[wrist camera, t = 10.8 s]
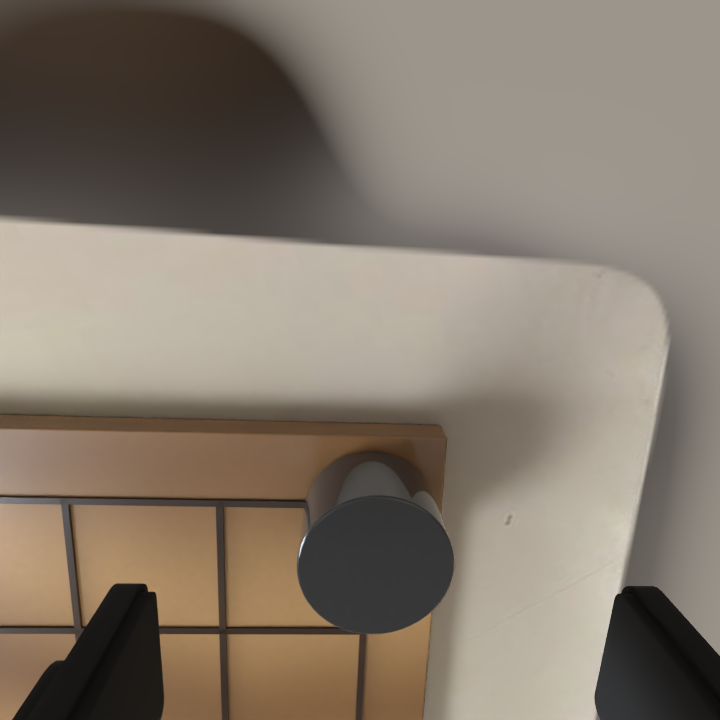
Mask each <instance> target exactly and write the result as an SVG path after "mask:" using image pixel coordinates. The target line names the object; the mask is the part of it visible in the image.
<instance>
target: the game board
mask: <svg viewBox="0 0 720 720" xmlns="http://www.w3.org/2000/svg"><path fill="white" fill-rule="evenodd" d="M446 446H447V437H446V435H445V433H444V432H443V430H442V428H441V426H439V425H412V424H370V423H328V422H286V421H244V420H202V419H160V418H117V417H75V416H33V415H0V720H12V719H13V717H14V716H15V714H16V713H17V711H18V710H19V708H20V707H21V705H22V704H23V703H24V701H25V700H26V698H27V697H28V695H29V694H30V692H31V691H32V689H33V688H34V686H35V685H36V683H37V682H38V680H39V679H40V677H41V676H42V674H43V673H44V671H45V670H46V669H47V668H48V667H49V665H51V664H52V663H53V662H55V661H59V660H65V659H66V657H67V656H68V654H69V652H70V651H71V649H72V648H73V646H74V645H75V643H76V642H77V640H78V638H79V637H80V635H81V634H82V632H83V631H84V629H85V627H86V626H87V624H88V623H89V621H90V620H91V618H92V616H93V615H94V613H95V612H96V610H97V609H98V607H99V605H100V604H101V602H102V601H103V599H104V598H105V596H106V595H107V593H108V591H109V590H110V588H111V587H112V586H113V585H114V584H116V583H140V584H146V585H147V587H148V592H155V593H156V596H157V608H158V621H159V634H160V647H161V660H162V673H163V686H164V708H163V713H162V717H161V720H423V714H424V702H425V690H426V679H427V667H428V655H429V644H430V632H431V621H432V612H431V613H429V614H428V615H427V616H426V617H424V618H423V619H422V620H420V621H419V622H417V623H415V624H413V625H411V626H409V627H407V628H404V629H402V630H398V631H395V632H391V633H385V634H360V633H354V632H350V631H347V630H344V629H341V628H339V627H337V626H334V625H333V624H331V623H329V622H328V621H326V620H325V619H323V618H322V617H321V616H319V615H318V614H317V613H316V612H315V611H314V610H313V609H312V607H311V606H310V605H309V603H308V602H307V600H306V598H305V597H304V595H303V593H302V591H301V588H300V585H299V582H298V577H297V556H298V548H299V541H300V534H301V526H302V519H303V512H304V504H305V500H306V496H307V493H308V491H309V488H310V486H311V485H312V483H313V481H314V480H315V479H316V477H317V476H318V475H319V474H320V473H321V472H322V471H323V470H324V469H325V468H326V467H327V466H329V465H330V464H331V463H333V462H335V461H336V460H338V459H340V458H343V457H345V456H347V455H351V454H354V453H360V452H371V451H373V452H383V453H388V454H391V455H394V456H397V457H400V458H402V459H404V460H406V461H407V462H409V463H410V464H412V465H413V466H414V467H415V468H416V469H417V470H419V472H420V473H421V474H422V475H423V476H424V478H425V479H426V481H427V482H428V484H429V486H430V489H431V491H432V493H433V496H434V499H435V501H436V504H437V507H438V509H439V512H440V515H441V504H442V493H443V481H444V470H445V458H446Z"/></svg>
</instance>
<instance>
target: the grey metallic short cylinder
mask: <svg viewBox="0 0 720 720" xmlns="http://www.w3.org/2000/svg"><path fill="white" fill-rule="evenodd" d="M453 570H454V554H453V548H452V545H451V541H450V538H449V536H448V533H447V530H446V528H445V525H444V522H443V520H442V517H441V515H440V512H439V509H438V507H437V504H436V501H435V499H434V496H433V493H432V491H431V489H430V486H429V484H428V482H427V481H426V479H425V478H424V476H423V475H422V474H421V473H420V472H419V470H417V469H416V468H415V467H414V466H413V465H412V464H410V463H409V462H407V461H406V460H404V459H402V458H400V457H397V456H394V455H391V454H388V453H383V452H373V451H371V452H360V453H354V454H351V455H347V456H345V457H343V458H340V459H338V460H336V461H335V462H333V463H331V464H330V465H329V466H327V467H326V468H325V469H324V470H323V471H322V472H321V473H320V474H319V475H318V476H317V477H316V479H315V480H314V481H313V483H312V485H311V486H310V488H309V491H308V493H307V496H306V500H305V504H304V512H303V519H302V526H301V534H300V541H299V548H298V556H297V577H298V582H299V585H300V588H301V591H302V593H303V595H304V597H305V598H306V600H307V602H308V603H309V605H310V606H311V607H312V609H313V610H314V611H315V612H316V613H317V614H318V615H319V616H321V617H322V618H323V619H325V620H326V621H328V622H329V623H331V624H333V625H334V626H337V627H339V628H341V629H344V630H347V631H350V632H354V633H360V634H385V633H391V632H395V631H398V630H402V629H404V628H407V627H409V626H411V625H413V624H415V623H417V622H419V621H420V620H422V619H423V618H424V617H426V616H427V615H428V614H429V613H431V612H432V611H433V610H434V609H435V608H436V606H437V605H438V604H439V603H440V602H441V600H442V599H443V597H444V596H445V594H446V592H447V590H448V588H449V585H450V582H451V579H452V576H453Z"/></svg>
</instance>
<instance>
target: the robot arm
mask: <svg viewBox="0 0 720 720" xmlns="http://www.w3.org/2000/svg"><path fill="white" fill-rule="evenodd" d="M595 705H596V709H597V713H598V715H599V717H600V719H601V720H720V656H719V655H718V654H717V652H715V650H714V649H713V648H712V647H711V646H710V645H709V644H708V642H707V641H706V640H705V639H704V638H703V637H702V636H701V635H700V634H699V632H698V631H697V630H696V629H695V628H694V627H693V626H692V625H691V624H690V622H689V621H688V620H687V619H686V618H685V617H684V616H683V615H682V614H681V612H680V611H679V610H678V609H677V608H676V607H675V606H674V605H673V603H671V601H670V600H669V599H668V598H667V597H666V596H665V595H664V594H663V593H662V591H661V590H659V589H658V588H657V587H654V586H627V587H625V588H624V589H623V590H622V593H621V594H617V595H616V597H615V600H614V604H613V609H612V614H611V619H610V624H609V629H608V633H607V638H606V643H605V648H604V653H603V657H602V662H601V667H600V672H599V677H598V681H597V686H596V691H595ZM163 708H164V686H163V673H162V660H161V647H160V634H159V621H158V608H157V596H156V593H155V592H148V587H147V585H146V584H140V583H116V584H114V585H113V586H112V587H111V588H110V590H109V591H108V593H107V595H106V596H105V598H104V599H103V601H102V602H101V604H100V605H99V607H98V609H97V610H96V612H95V613H94V615H93V616H92V618H91V620H90V621H89V623H88V624H87V626H86V627H85V629H84V631H83V632H82V634H81V635H80V637H79V638H78V640H77V642H76V643H75V645H74V646H73V648H72V649H71V651H70V652H69V654H68V656H67V657H66V659H65V660H59V661H55V662H53V663H52V664H51V665H49V667H48V668H47V669H46V670H45V671H44V673H43V674H42V676H41V677H40V679H39V680H38V682H37V683H36V685H35V686H34V688H33V689H32V691H31V692H30V694H29V695H28V697H27V698H26V700H25V701H24V703H23V704H22V705H21V707H20V708H19V710H18V711H17V713H16V714H15V716H14V717H13V719H12V720H161V717H162V713H163Z"/></svg>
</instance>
